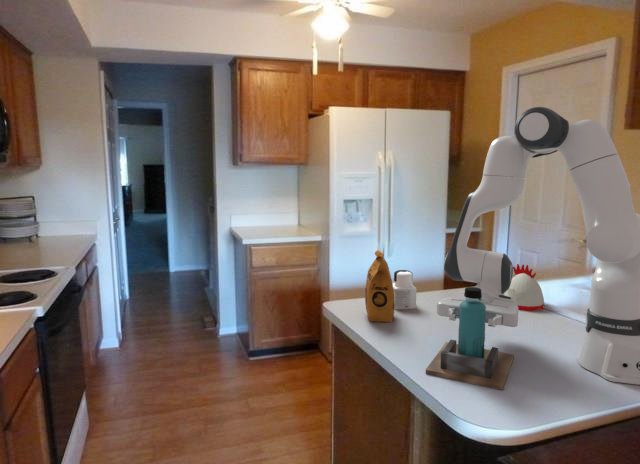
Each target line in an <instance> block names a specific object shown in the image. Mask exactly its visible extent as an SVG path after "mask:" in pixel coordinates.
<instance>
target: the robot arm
mask: <svg viewBox="0 0 640 464" xmlns="http://www.w3.org/2000/svg"><path fill="white" fill-rule="evenodd" d="M513 130H514V134H513V135H503V136H499V137H497V138H495V139H494V140H492V142H491V144H490V146H489V149H488V151H487V155H486V156H485V157H486V158H485V161H484V167H483V172H482V178H481V181H480V184H479V186H477V189H475V190H474V191H473V192H470V193H469V194H468V196H467V198H466V199H465V202H464V204H463V207H462V210H461V213H460V215H459V219H458V222H457V223H456V224H457V225H456V228H455V231H454V234H453V237H452V240H451V244H450V246H449V248H448V251H447V254H446V255H445V258H444V263H443V269H444V270H443V271H444V272H445V274H447V276H448V277H449V278H450V279H451V280H452V281H457V282H470V283H476V285H475V286H474V287H477V288H480V289H481V294H482V298H479V299H474V300H479V301H481V302H482V303H483V304H484V305H485V306H486V310H485V324H487V326H488V327H491V328H492V327H493V328H495V327H496V326H504V327H510V328H515V327H518V326H519V325H518V323H519V311H520V310H518V306H517V305H516V299H515V298H512V297H508V296H504V293H505V292H506V291H507V290H508V289H509V287H510V284H511V281H512V278H513V273H514V270H513V267H514V266H513V262H512V261H511V259H510V258H509V256H508V255H507V254H506V253H505V252H504V253H503V252H497V251H493V250H492V251H491V250H485V249H484V250H483V249H477V248H471V247H468V242H469V239H470V236H471V233H472V231H473V230H472V229H473V226H474V224H475V221H476V220H477V218H479V217H480V216H481V215H484V214H486V213H489V212H494V211H498V210H502V209H506V208H508V207H510V206H512V205H514V204H516V202H518V201H519V199H521V197H522V194H523V191H524V186H525V181H526V175H527V168H528V163H529V161H530V160H531V158H538V157H542V156H547V155H552V154H554V153H556V152H559V153H560V154H561V155H562V156H563V158H564V160H565V162H566V165H567V168H568V171H569V174H570V176H571V178H572V180H573V181H572V182H573V184H574V187H575V189H576V192H577V195H578V198H579V201H580V204H581V211H582V218H583V222H584V227H585V232H586V247H587V249H588V251H589V253H590V254H591V255H592V256H593V257H594V258H595V259H597V263H596V266H595V269H594V273H593V276H592V279H591V284H590V285H591V286H590V297H589V306H588V307H589V308H587V310H586V314H585V323H584V324H585V325H584V326H585V331H586V332H585V337H584V341H583V345H582V347H581V350H580V353H579V356H578V357H577V362H578V364H579V365H580V366H581V367H583V368H584V369H586V370H588V371H589V372H592V373H594V374H597V375H599V376H600V377H602V378H604V379H605V380H606V381H609V382H614V383H623V384H630V385H638V386H639V385H640V214H639V213H637V212H636V210H635V206H634V202H633V197H632V189H631V183H630V181H629V179H628V178H629V177H628V175H627V173H626V170H625V167H624V166H623V165H624V164H623V163H622V160H621V157H620V155H619V153H618V150H617V148H616V146H615V144H614V142H613V139H612V138H611V136H610V135H609V132H608V131H607V130H606V128H605V127H604V125H603V124H602V123H601V122H600V121H598V120H597V119H581V120H579V121H576V122H572V123H569V121H568V120H567V119H566V118H565V117H563V116H562V115H560V114H559V113H558V112H556V111H554V110H553V109H551V108H548V107H546V106H545V107H544V106H534V107H531V108H529V109H527V110H524V112H522V113H520V115H519V117H517V119H516V121H515V124H514V129H513ZM467 299H471V298H467V297H465V298H460V297H459V298H458V297H451V296H450V297H444V298H442V299H440V300H439V301H437V302H436V303H437V304H436V313H437V315H438V316H440V317H445V318H448V321H454V322H455V321H457V320H458V319H459V314H460V304H461V303H462V302H463V301H464V300H467Z"/></svg>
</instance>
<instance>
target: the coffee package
mask: <svg viewBox="0 0 640 464" xmlns="http://www.w3.org/2000/svg"><path fill="white" fill-rule="evenodd" d="M374 255H375V257H376V258H375V259H374V261H373V262H372V263H371V265H370V267H369V268H368V270H367V275H366V281H365V289H364V299H365V300H364V301H365V310H366V315H367V318H368V320H369V321H370V322H372V323H373V322H376V323H380V322H381V323H382V322H383V323H392V322H393V319H394V314H395V308H394V290H393V284H392V283H393V280H392V276H391V272H390V268H389V265H388V262H387V261H386V259H385V258H384V255H385V254H384V253H383V252H382V251H381V250H380V249H376V250H375V251H374Z"/></svg>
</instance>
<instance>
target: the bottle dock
mask: <svg viewBox="0 0 640 464" xmlns="http://www.w3.org/2000/svg"><path fill="white" fill-rule="evenodd" d="M457 342H458V341H457V339H450V340H449V341H448V342H447V341H445V343H444V344H443V346H442V347H441V348H440V350H439V351H438V352H437V354H436V355H435V356H434V358H433V359H432V360H431V361H430V363H429V364H428V366H427V367H426V368H425V374H427V375H432V376H436V377H441V378H446V379H449V380H454V381H458V382H463V383H467V384H473V385H477V386H482V387H485V388H491V389H495V390H500V391H503V390H504V388H505V385H506V383H507V379H508V376H509V374H510V370H511V367H512V364H513V361H514V358H515V357H514V356H515V354H512V353H507V352H503V351H499V347H494V346H492V347H491V349H486V348H484V353H485V354H484V355H485V356H484V359H482V358H477V357H472V356H467V355H462V354H458V343H457Z"/></svg>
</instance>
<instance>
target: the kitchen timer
mask: <svg viewBox="0 0 640 464" xmlns="http://www.w3.org/2000/svg"><path fill="white" fill-rule="evenodd" d="M513 273H514V275H515V276H512V281H511V284H510V287H509V289H508V290H507V291H506V292H505V293H504V296H508V297H512V298H515V299H516V305H517V306H518V310H519V311H527V312H528V311H529V312H536V311H541V310H543V309H544V308H543V306H544V307H545V298H544V295H543V290H542V287H541V286H540V284H539V282H538V281H537V279H536V278H535V277H536V275H537V272H535V273H533V268H531V269H529V265H528V264H526V266H525V264H522V265H521V267H520V264H519V263H517V264H516V266H513ZM532 273H533V274H532Z"/></svg>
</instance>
